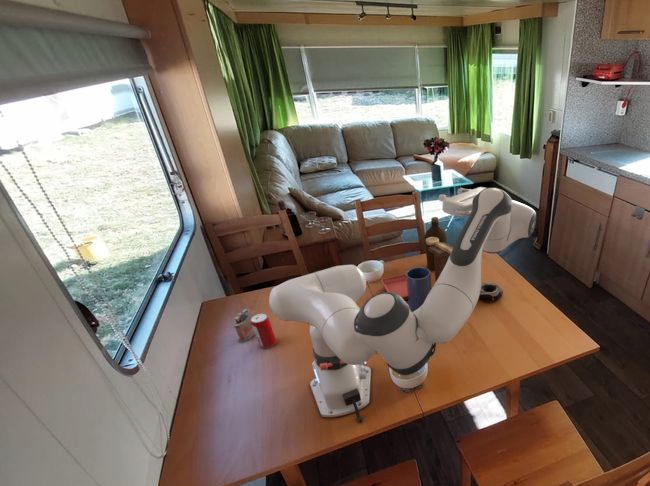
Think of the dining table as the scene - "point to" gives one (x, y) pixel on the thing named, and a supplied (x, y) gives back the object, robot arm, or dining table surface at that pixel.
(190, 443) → the dining table surface
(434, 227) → the olive oil
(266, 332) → the soda can
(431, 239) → the spoon
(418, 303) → the crock
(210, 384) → the dining table surface
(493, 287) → the donut
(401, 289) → the plant saucer
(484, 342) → the dining table surface
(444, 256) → the stand
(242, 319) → the lighter
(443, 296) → the robot arm
